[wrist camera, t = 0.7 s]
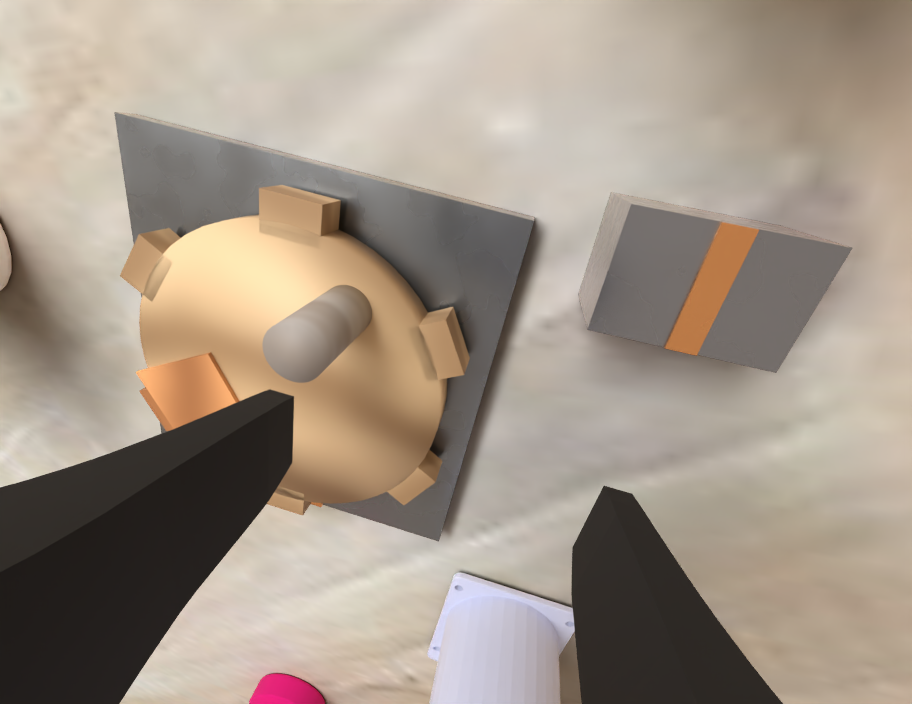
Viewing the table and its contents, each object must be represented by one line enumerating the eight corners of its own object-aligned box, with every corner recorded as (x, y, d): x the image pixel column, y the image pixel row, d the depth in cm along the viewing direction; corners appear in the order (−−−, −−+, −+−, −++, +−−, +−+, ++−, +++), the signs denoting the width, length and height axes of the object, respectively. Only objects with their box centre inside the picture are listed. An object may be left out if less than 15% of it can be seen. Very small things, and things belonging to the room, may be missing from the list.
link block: (778, 224, 15) (855, 248, 11) (726, 325, 17) (777, 374, 13) (610, 191, 15) (631, 204, 12) (577, 292, 17) (587, 330, 14)
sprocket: (424, 528, 23) (392, 631, 18) (173, 449, 24) (79, 526, 19) (500, 242, 15) (481, 284, 11) (133, 145, 16) (-39, 142, 12)
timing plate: (442, 527, 24) (438, 544, 23) (177, 443, 25) (162, 456, 24) (534, 217, 16) (534, 221, 15) (136, 114, 17) (109, 111, 16)
